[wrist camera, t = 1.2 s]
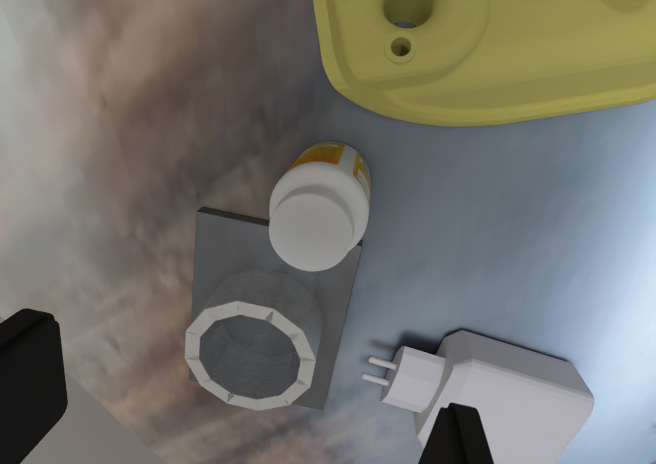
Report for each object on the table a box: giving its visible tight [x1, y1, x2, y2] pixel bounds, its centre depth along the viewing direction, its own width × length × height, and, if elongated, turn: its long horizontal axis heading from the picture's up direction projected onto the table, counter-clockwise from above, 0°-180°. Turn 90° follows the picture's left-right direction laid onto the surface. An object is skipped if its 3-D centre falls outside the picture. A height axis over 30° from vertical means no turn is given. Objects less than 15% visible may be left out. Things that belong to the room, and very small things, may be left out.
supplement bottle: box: [269, 141, 371, 271], centre depth 23 cm, size 5×5×10 cm
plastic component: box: [313, 0, 656, 126], centre depth 21 cm, size 20×7×10 cm
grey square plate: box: [185, 207, 362, 410], centre depth 30 cm, size 16×12×6 cm
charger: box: [362, 330, 594, 464], centre depth 31 cm, size 5×9×15 cm
